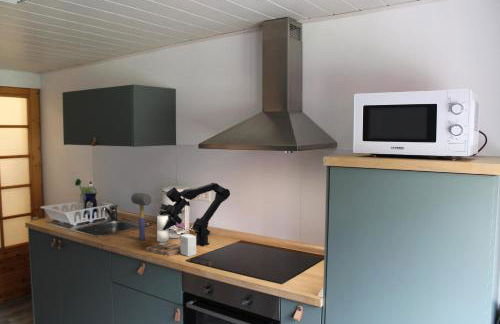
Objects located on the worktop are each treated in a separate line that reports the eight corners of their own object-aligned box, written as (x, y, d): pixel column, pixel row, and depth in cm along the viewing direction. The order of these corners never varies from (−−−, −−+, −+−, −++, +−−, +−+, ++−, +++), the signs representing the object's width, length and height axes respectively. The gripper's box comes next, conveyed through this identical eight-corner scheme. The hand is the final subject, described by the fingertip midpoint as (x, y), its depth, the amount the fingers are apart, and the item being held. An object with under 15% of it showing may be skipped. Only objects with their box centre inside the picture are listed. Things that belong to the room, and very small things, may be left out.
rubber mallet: (153, 240, 255) (152, 193, 253) (143, 243, 249) (143, 194, 247) (140, 237, 262) (139, 191, 261) (131, 240, 256) (130, 192, 254)
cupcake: (179, 231, 279) (178, 217, 278) (189, 233, 275) (189, 218, 274) (171, 234, 271) (170, 219, 270) (181, 235, 267) (181, 220, 266)
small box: (196, 254, 224) (196, 236, 224) (187, 256, 221) (187, 237, 220) (188, 251, 230) (188, 233, 230) (180, 253, 227) (179, 235, 226)
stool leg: (169, 241, 233) (169, 214, 232) (168, 245, 227) (168, 217, 226) (157, 242, 233) (157, 215, 231) (156, 245, 226) (155, 217, 225)
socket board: (187, 249, 234) (187, 246, 234) (168, 256, 221) (168, 252, 221) (165, 245, 244) (165, 242, 244) (146, 251, 232) (146, 247, 231)
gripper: (161, 196, 238) (144, 217, 232) (176, 200, 223) (158, 223, 217) (173, 208, 243) (157, 229, 237) (189, 212, 228) (172, 235, 222)
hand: (160, 228), depth 228 cm, fingers closed on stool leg, 6 cm apart
